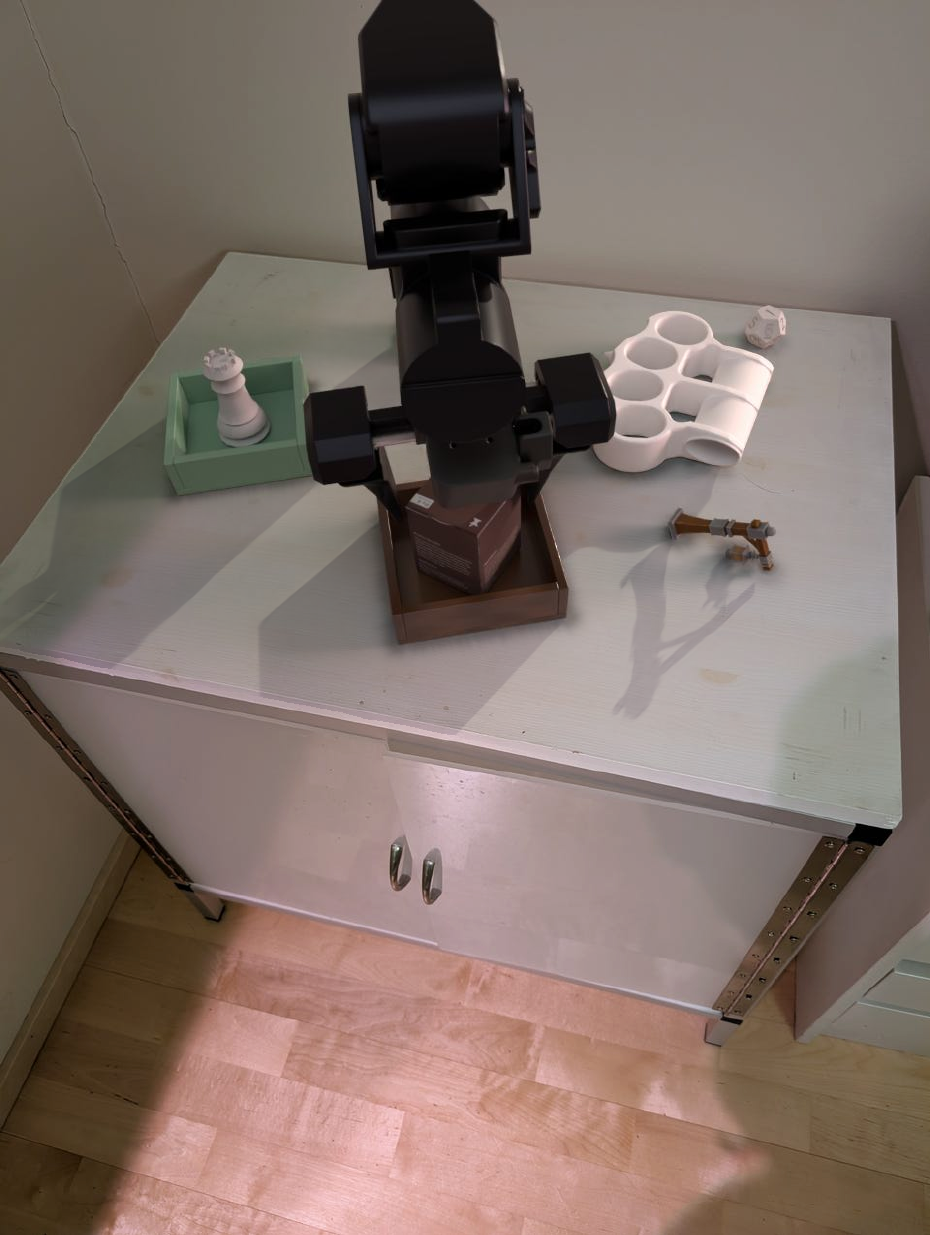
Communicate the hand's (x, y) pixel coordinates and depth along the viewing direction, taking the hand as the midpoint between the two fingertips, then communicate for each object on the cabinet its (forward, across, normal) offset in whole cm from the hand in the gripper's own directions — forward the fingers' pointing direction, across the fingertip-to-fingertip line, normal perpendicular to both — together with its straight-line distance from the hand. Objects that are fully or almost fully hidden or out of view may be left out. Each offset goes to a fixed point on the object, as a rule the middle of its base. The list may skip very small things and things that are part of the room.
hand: (465, 508), depth 59 cm
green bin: (+6, -17, +18) cm, 26 cm away
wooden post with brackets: (+7, +19, -2) cm, 20 cm away
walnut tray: (+7, 0, 0) cm, 7 cm away
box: (+6, 0, 0) cm, 6 cm away
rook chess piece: (+6, -17, +18) cm, 26 cm away
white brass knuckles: (+7, +20, +14) cm, 25 cm away
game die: (+7, +31, +21) cm, 38 cm away
